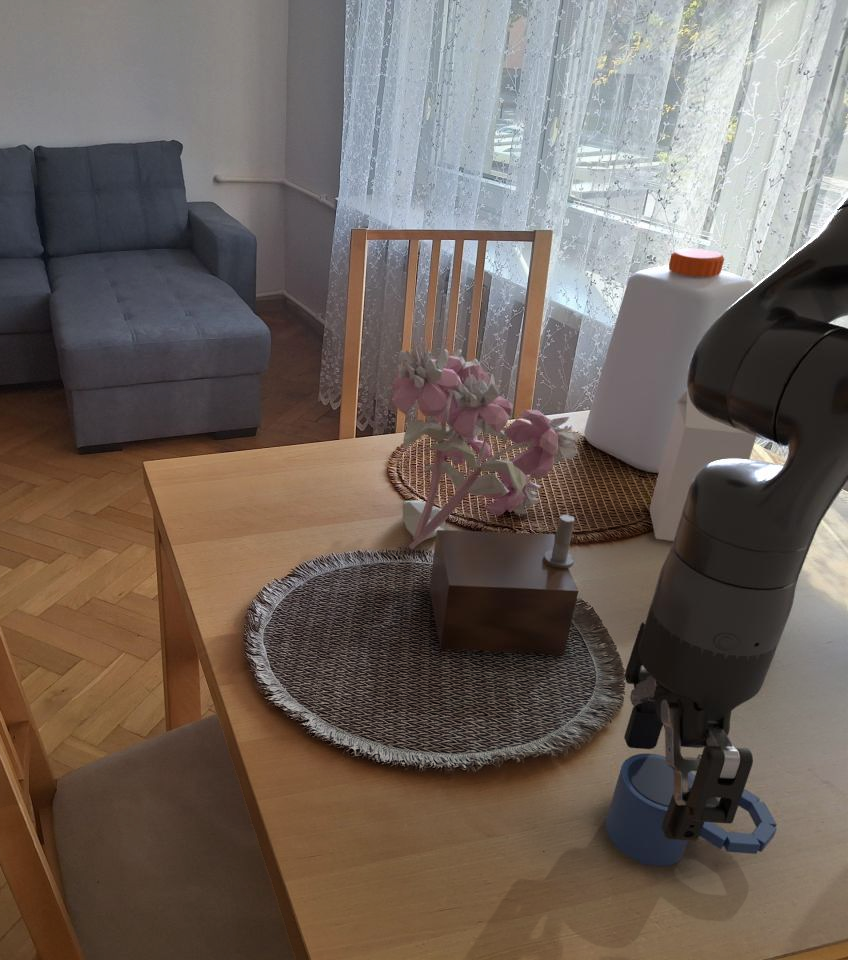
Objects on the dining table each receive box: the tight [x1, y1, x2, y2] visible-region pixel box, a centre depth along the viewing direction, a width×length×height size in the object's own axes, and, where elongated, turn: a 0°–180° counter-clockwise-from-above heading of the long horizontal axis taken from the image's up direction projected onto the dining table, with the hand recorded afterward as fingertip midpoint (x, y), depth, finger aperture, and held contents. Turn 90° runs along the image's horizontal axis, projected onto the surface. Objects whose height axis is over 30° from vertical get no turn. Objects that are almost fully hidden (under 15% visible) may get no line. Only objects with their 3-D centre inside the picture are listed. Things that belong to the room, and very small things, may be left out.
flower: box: [391, 340, 583, 550], centre depth 102 cm, size 20×22×25 cm
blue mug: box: [605, 752, 777, 867], centre depth 65 cm, size 11×6×6 cm, turn 83°
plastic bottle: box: [583, 247, 756, 474], centre depth 116 cm, size 15×15×28 cm
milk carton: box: [649, 391, 757, 542], centre depth 100 cm, size 7×7×19 cm
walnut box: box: [429, 514, 579, 656], centre depth 87 cm, size 13×10×13 cm
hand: (657, 787), depth 64 cm, fingers open, 8 cm apart
